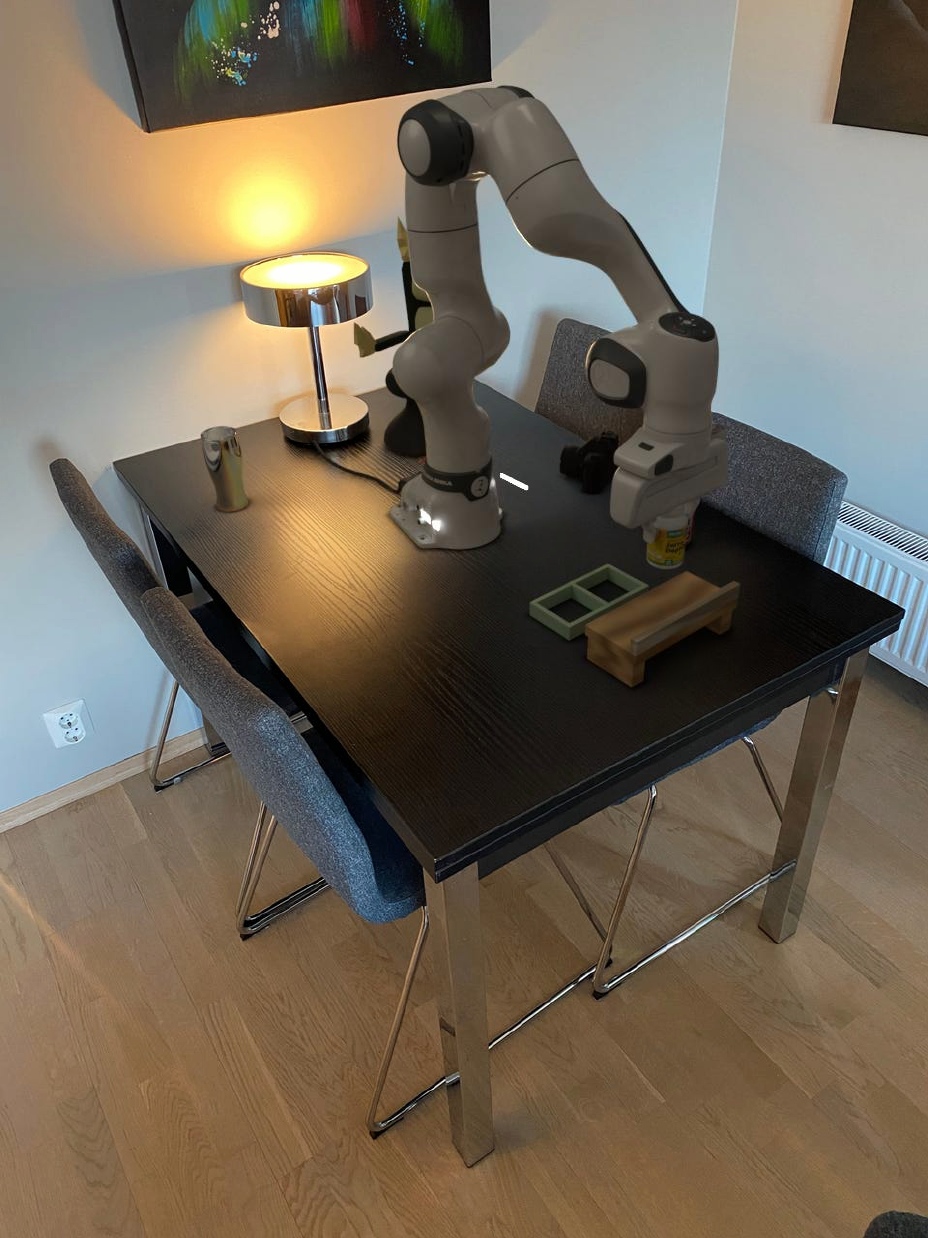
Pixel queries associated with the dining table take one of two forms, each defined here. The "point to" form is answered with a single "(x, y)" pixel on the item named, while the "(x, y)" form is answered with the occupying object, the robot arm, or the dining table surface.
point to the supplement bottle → (669, 540)
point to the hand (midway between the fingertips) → (667, 532)
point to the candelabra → (408, 424)
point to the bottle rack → (585, 600)
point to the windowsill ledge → (657, 623)
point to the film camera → (591, 461)
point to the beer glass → (225, 467)
